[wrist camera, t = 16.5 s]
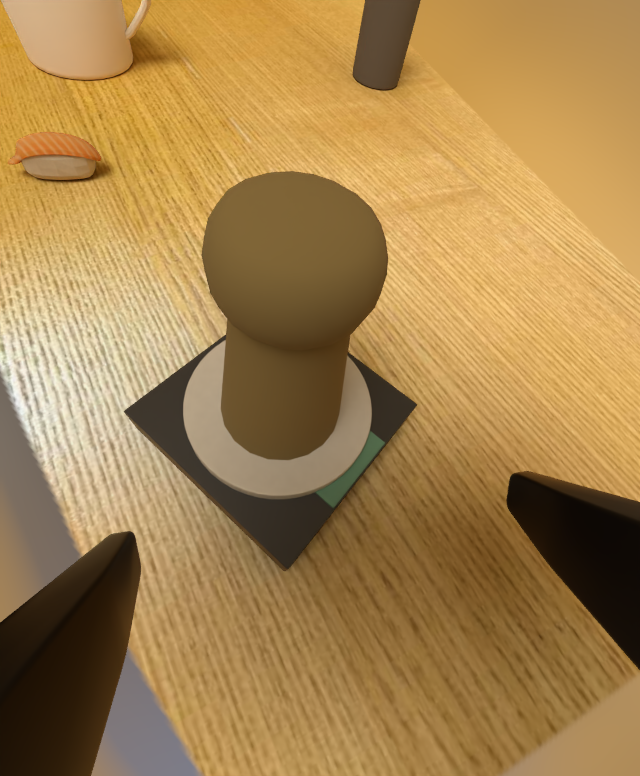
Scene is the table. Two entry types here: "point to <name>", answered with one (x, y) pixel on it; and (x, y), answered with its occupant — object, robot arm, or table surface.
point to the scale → (260, 475)
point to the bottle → (384, 41)
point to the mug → (76, 35)
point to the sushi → (56, 156)
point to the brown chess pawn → (290, 304)
